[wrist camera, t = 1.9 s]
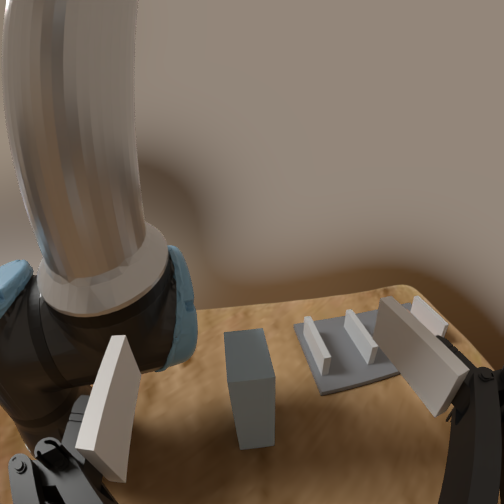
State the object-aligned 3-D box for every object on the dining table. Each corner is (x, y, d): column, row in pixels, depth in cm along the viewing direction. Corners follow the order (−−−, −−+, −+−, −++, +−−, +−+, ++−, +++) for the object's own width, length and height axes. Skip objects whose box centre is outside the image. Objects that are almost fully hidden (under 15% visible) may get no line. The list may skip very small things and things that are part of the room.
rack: (320, 395, 33) (324, 375, 32) (293, 327, 48) (294, 307, 47) (453, 352, 36) (462, 332, 34) (408, 305, 50) (413, 287, 49)
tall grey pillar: (240, 449, 26) (227, 382, 21) (235, 406, 33) (223, 332, 28) (274, 445, 27) (275, 376, 22) (265, 402, 33) (262, 328, 28)
